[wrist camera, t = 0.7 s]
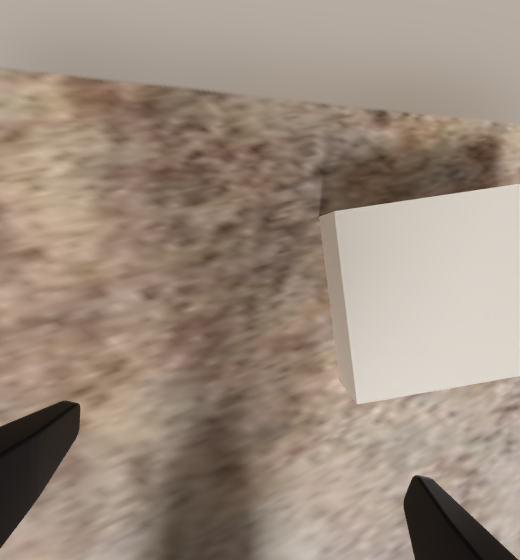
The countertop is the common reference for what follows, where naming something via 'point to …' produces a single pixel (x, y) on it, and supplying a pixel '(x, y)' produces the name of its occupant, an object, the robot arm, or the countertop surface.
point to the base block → (425, 292)
